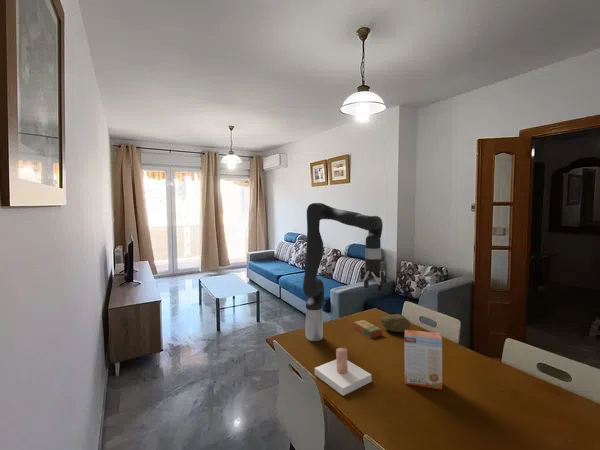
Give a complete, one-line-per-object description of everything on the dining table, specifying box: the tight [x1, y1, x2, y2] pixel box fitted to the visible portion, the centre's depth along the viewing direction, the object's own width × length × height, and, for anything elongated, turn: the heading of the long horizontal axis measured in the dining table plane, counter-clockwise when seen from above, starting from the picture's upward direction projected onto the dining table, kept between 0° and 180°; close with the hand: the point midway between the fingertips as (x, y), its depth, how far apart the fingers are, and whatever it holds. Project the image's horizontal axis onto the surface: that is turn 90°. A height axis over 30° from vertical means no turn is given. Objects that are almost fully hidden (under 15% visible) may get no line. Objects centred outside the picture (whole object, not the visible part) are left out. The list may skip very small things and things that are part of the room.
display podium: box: [314, 359, 373, 396], centre depth 125 cm, size 18×16×3 cm
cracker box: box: [404, 329, 443, 390], centre depth 120 cm, size 14×6×21 cm, turn 71°
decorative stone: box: [380, 313, 412, 333], centre depth 171 cm, size 17×11×10 cm, turn 56°
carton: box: [352, 319, 383, 339], centre depth 172 cm, size 8×16×4 cm, turn 26°
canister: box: [335, 347, 348, 374], centre depth 125 cm, size 5×5×9 cm
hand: (373, 290), depth 143 cm, fingers open, 8 cm apart
